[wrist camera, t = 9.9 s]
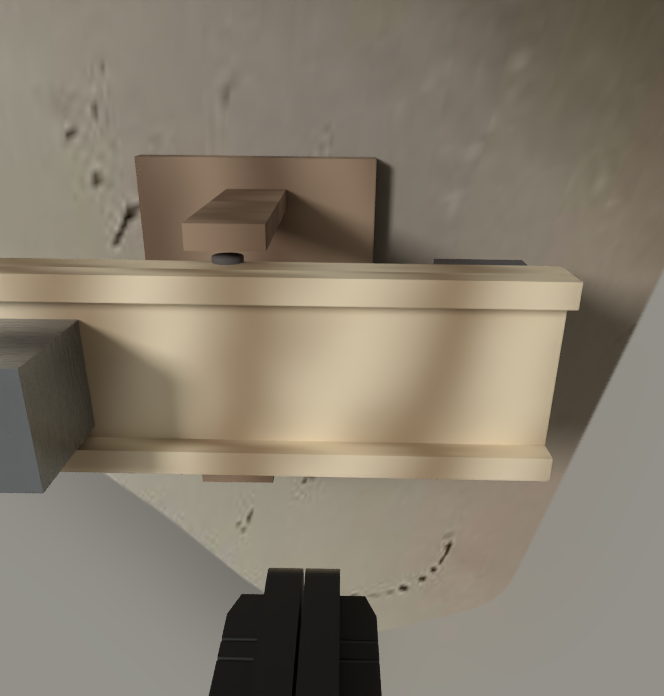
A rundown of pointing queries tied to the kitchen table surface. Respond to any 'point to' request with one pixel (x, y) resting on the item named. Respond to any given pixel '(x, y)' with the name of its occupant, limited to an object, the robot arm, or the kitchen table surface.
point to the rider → (41, 401)
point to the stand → (257, 213)
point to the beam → (309, 364)
